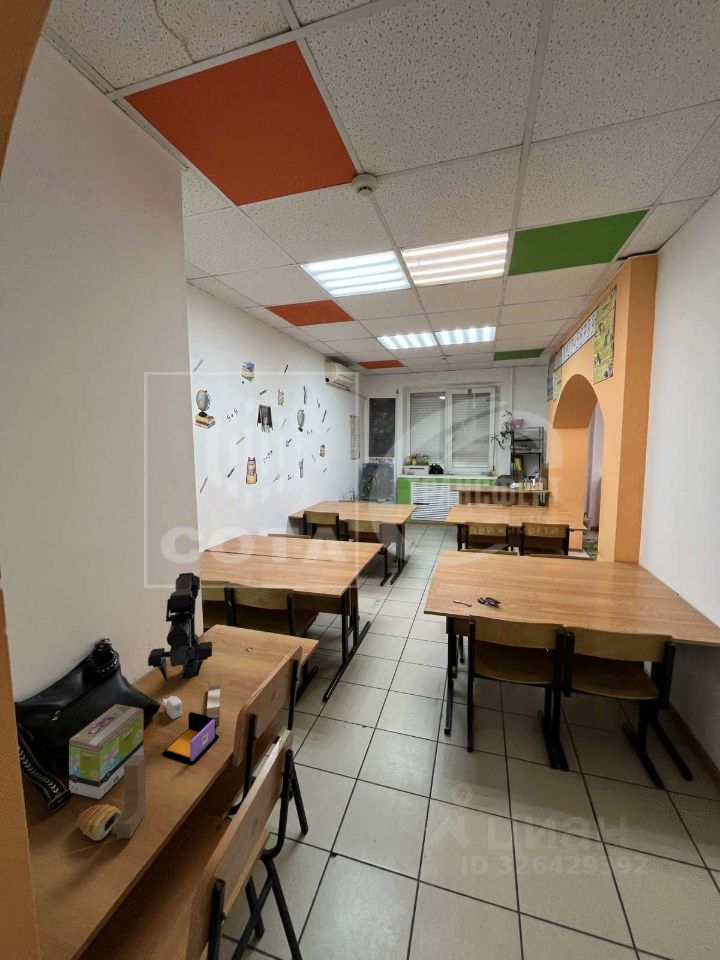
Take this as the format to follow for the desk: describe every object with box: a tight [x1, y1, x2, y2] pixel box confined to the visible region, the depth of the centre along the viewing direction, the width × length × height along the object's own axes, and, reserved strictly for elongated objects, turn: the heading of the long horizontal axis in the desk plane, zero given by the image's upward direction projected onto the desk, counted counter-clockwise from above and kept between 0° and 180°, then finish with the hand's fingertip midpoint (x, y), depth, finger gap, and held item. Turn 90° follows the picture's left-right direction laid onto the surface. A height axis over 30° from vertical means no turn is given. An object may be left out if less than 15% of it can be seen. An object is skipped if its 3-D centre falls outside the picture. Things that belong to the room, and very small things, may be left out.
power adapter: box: [161, 694, 183, 720], centre depth 130 cm, size 10×4×5 cm, turn 48°
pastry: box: [76, 803, 122, 841], centre depth 90 cm, size 9×7×4 cm
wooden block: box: [115, 755, 147, 839], centre depth 90 cm, size 7×3×15 cm, turn 0°
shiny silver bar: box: [205, 681, 221, 726], centre depth 132 cm, size 20×4×3 cm, turn 19°
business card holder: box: [161, 711, 220, 766], centre depth 115 cm, size 12×12×7 cm
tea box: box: [68, 703, 145, 800], centre depth 104 cm, size 15×10×15 cm, turn 168°
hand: (182, 678), depth 124 cm, fingers open, 9 cm apart
